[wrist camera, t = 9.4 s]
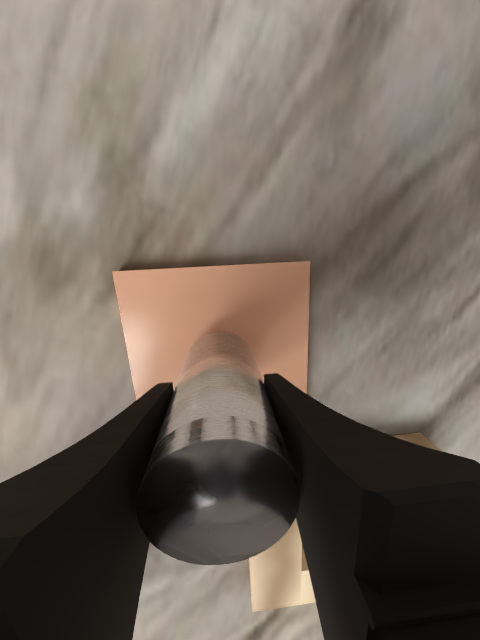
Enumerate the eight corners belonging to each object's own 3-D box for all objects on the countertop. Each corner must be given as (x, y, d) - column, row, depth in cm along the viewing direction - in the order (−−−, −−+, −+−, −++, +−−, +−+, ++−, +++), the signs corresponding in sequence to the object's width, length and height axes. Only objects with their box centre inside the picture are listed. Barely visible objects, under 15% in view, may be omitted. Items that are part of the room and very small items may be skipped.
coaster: (147, 431, 16) (143, 440, 15) (118, 270, 13) (112, 271, 13) (301, 416, 17) (305, 424, 16) (305, 260, 14) (310, 261, 13)
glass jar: (190, 398, 14) (151, 575, 6) (180, 335, 13) (120, 450, 5) (256, 391, 14) (300, 552, 6) (252, 328, 13) (300, 428, 5)
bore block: (249, 579, 21) (252, 612, 19) (242, 451, 17) (244, 475, 15) (397, 557, 22) (414, 587, 20) (420, 432, 18) (443, 453, 16)
